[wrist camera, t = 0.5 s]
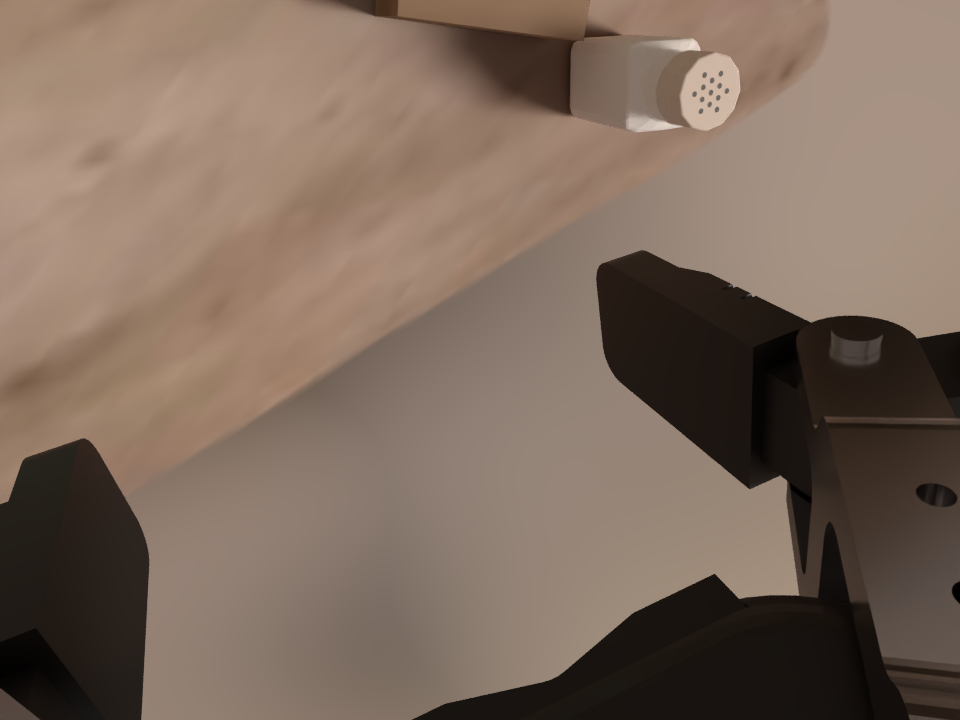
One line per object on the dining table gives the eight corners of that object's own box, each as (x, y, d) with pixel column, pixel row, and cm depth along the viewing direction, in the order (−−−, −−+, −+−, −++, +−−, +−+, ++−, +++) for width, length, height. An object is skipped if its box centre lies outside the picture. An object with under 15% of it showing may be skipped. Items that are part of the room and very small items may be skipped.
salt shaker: (565, 118, 38) (667, 145, 30) (566, 38, 36) (675, 44, 28) (628, 111, 39) (742, 135, 31) (632, 34, 37) (755, 38, 29)
